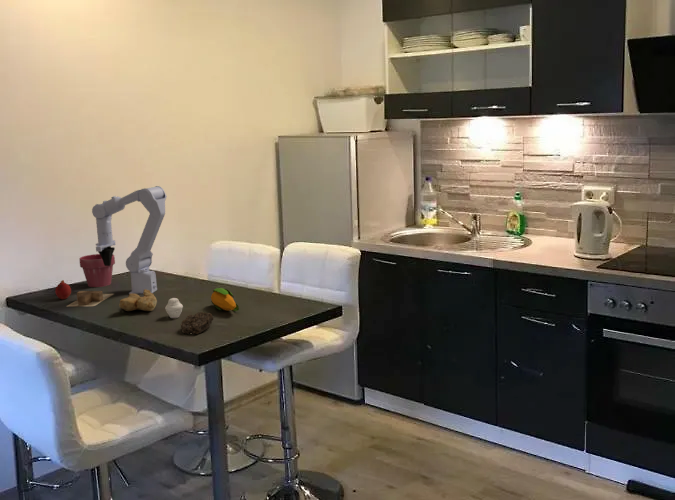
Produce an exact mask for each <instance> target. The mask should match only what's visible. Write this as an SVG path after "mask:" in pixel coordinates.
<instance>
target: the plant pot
mask: <svg viewBox="0 0 675 500" xmlns="http://www.w3.org/2000/svg"><path fill="white" fill-rule="evenodd" d="M115 264H116V260H115V255H114V254H113V255H112V260H111V265H110V266H105V265H104V263H103V260H102V257H101V255H100V254H99V253H96V254H89V255H83V256H79V267H80V268H82V271H83V274H84V278H85V281H86V284H87V286H88V287H90V288H102V287H103V288H104V287H107V286H110V285H111V284H112V278H113V272H114V271H113V270H114V265H115Z"/></svg>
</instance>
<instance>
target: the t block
mask: <svg viewBox="0 0 675 500" xmlns="http://www.w3.org/2000/svg"><path fill="white" fill-rule="evenodd" d="M103 294H104V293H103V291H102V290H79V291H78V292H76V300H77V301H78V305H88V304H89V303H91V302H100V301H102V300H103ZM102 302H103V301H102ZM100 303H101V302H100Z"/></svg>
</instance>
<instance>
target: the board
mask: <svg viewBox="0 0 675 500" xmlns="http://www.w3.org/2000/svg"><path fill="white" fill-rule="evenodd" d="M112 296H114V293H103V300H102V301H100V302H91V303H89V304H88V305H78V301H77V299H76V300H75V301H73V302H71V303H70V304H68V305H67V307H95V306H97V305H98V304H100V303H102V302H104V301H105V300H107V299H108V298H110V297H112Z"/></svg>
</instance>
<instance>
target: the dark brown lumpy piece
mask: <svg viewBox="0 0 675 500" xmlns="http://www.w3.org/2000/svg"><path fill="white" fill-rule="evenodd" d="M212 321H214V317H213V314H212V313H210V312H204V311H203V312H202V311H200V312H196V313H195V314H189V315H187V316H186V317H185V319H182V321H181V324H180V329H181V331H182V334H184V333H185V334H187V335H192V334H194V335H198V334H199V333H200V334H201V333H202V332H204V331H206V330H207V329H209V328H210V326H211V325H212ZM190 333H192V334H190Z"/></svg>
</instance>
